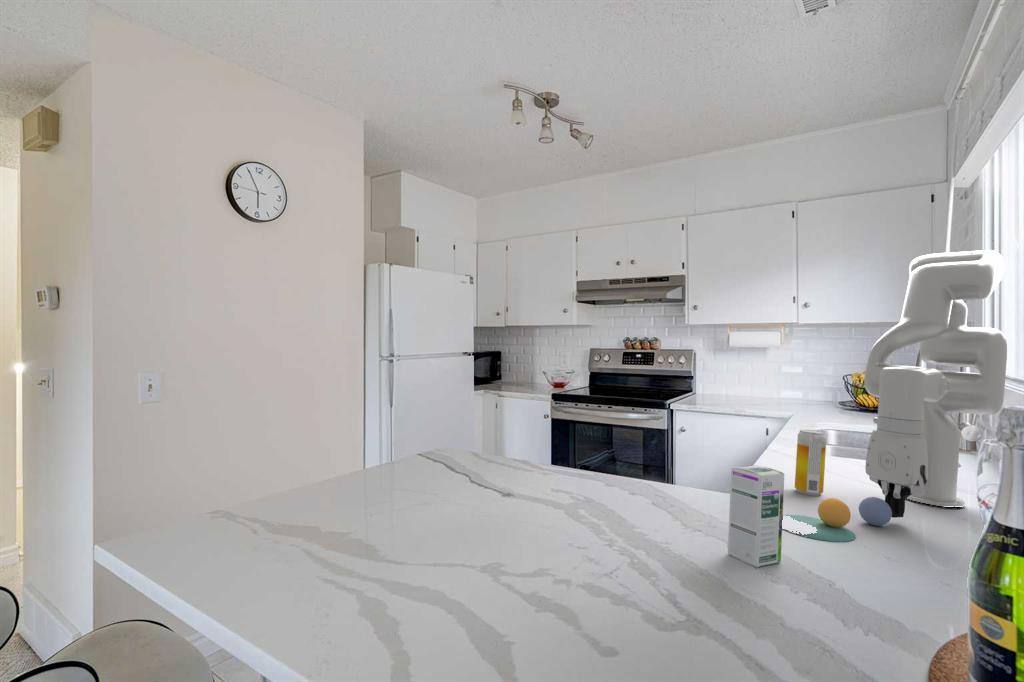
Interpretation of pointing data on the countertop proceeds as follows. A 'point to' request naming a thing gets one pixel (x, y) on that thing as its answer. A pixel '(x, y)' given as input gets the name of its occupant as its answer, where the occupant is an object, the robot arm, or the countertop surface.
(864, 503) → the blue ball
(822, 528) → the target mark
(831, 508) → the orange ball
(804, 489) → the drink can
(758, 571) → the countertop surface
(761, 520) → the syrup box
